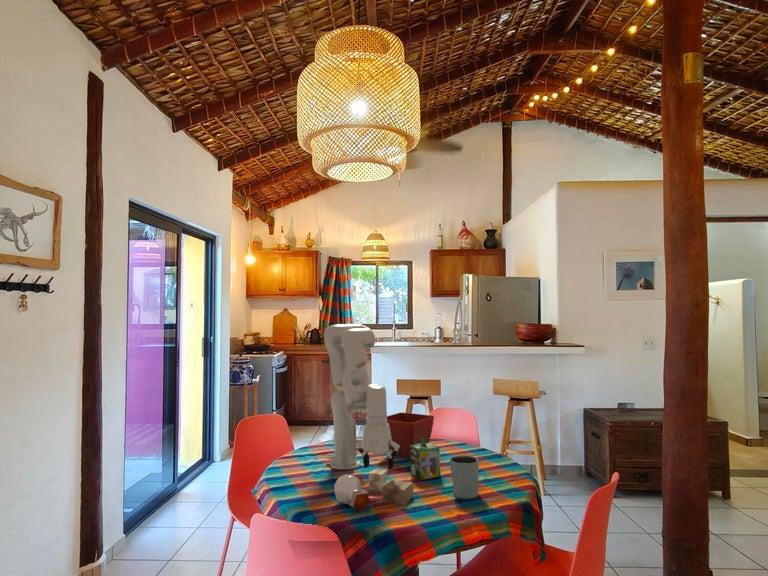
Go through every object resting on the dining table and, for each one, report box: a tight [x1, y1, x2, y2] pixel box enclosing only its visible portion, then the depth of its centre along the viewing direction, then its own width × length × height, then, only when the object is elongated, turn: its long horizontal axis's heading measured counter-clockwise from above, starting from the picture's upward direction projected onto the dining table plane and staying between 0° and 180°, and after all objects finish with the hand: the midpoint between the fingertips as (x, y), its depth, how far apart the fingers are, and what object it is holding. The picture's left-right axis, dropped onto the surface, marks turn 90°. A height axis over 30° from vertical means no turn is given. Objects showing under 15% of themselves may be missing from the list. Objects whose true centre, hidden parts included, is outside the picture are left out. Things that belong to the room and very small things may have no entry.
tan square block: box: [381, 479, 414, 506], centre depth 167 cm, size 8×8×5 cm
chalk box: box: [409, 437, 442, 481], centre depth 192 cm, size 9×9×15 cm
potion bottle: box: [333, 473, 371, 513], centre depth 162 cm, size 9×10×15 cm
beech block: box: [368, 468, 388, 492], centre depth 178 cm, size 5×5×6 cm
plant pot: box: [387, 412, 435, 460], centre depth 222 cm, size 19×19×17 cm
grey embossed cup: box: [449, 455, 480, 500], centre depth 170 cm, size 10×10×12 cm
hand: (378, 467), depth 178 cm, fingers open, 9 cm apart
